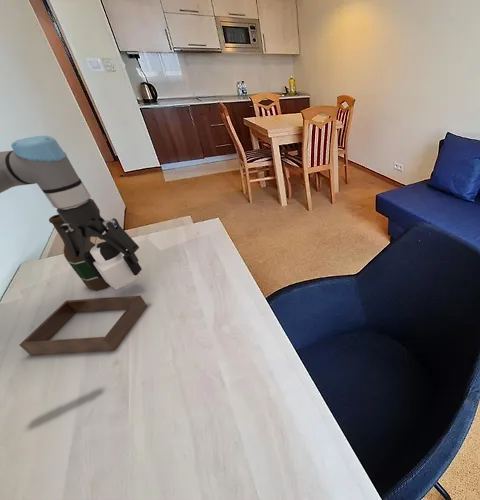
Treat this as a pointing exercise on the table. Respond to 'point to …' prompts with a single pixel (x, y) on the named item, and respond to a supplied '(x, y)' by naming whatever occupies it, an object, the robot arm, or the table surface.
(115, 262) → the medicine bottle
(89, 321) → the table surface
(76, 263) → the beer bottle
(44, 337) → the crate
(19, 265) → the table surface
